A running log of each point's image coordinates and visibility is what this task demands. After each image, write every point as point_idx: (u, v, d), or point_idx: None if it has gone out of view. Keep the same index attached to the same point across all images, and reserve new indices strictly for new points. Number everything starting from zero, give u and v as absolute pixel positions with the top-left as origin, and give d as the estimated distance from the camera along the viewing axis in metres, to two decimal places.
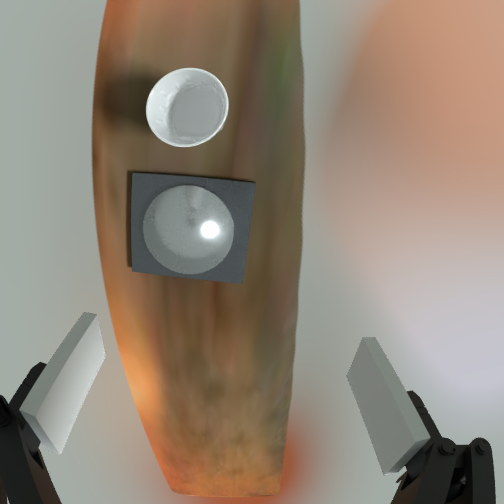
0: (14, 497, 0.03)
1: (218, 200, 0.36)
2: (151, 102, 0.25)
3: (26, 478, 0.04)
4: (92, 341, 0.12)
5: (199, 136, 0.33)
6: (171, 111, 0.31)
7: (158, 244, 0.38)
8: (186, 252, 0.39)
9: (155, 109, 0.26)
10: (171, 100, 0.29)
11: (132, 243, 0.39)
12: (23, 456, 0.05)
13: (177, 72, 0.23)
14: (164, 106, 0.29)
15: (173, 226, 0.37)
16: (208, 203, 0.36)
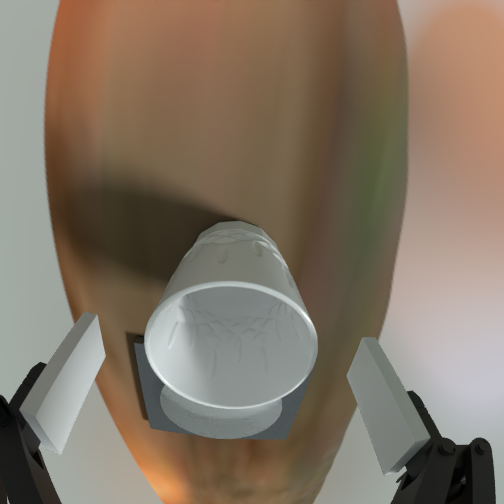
0: (14, 497, 0.03)
1: None
2: (153, 334, 0.13)
3: (26, 478, 0.04)
4: (92, 341, 0.12)
5: (238, 314, 0.21)
6: None
7: (183, 417, 0.26)
8: (220, 424, 0.27)
9: (162, 327, 0.14)
10: None
11: (147, 408, 0.27)
12: (23, 456, 0.05)
13: None
14: None
15: None
16: None
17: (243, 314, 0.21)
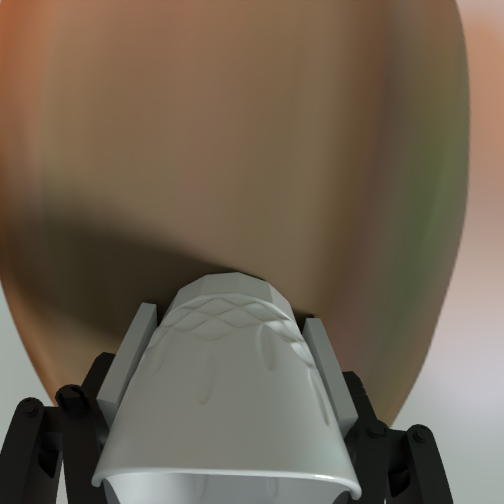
0: (74, 490, 0.05)
1: None
2: (107, 478, 0.06)
3: None
4: (152, 330, 0.14)
5: None
6: None
7: None
8: None
9: None
10: None
11: None
12: (95, 451, 0.06)
13: None
14: None
15: None
16: None
17: None
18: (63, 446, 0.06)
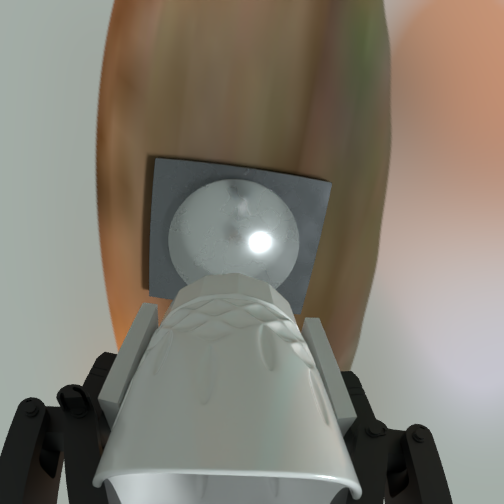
0: (75, 490, 0.05)
1: (281, 203, 0.26)
2: (108, 479, 0.06)
3: (94, 474, 0.06)
4: (153, 330, 0.14)
5: None
6: None
7: (190, 262, 0.27)
8: None
9: None
10: None
11: (151, 258, 0.28)
12: (96, 451, 0.06)
13: None
14: None
15: (214, 237, 0.27)
16: (267, 207, 0.26)
17: None
18: (64, 446, 0.06)
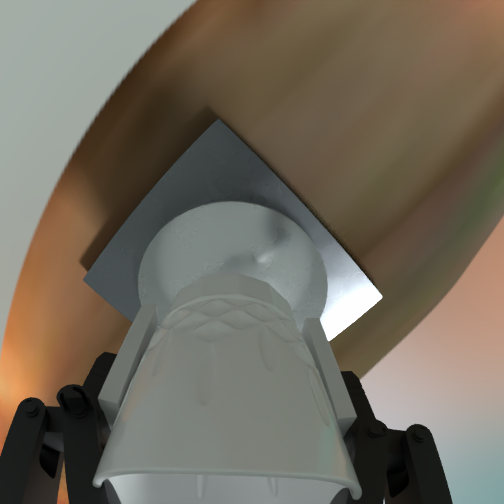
0: (75, 490, 0.05)
1: (323, 289, 0.18)
2: (108, 479, 0.06)
3: (94, 474, 0.06)
4: (153, 330, 0.14)
5: None
6: None
7: (163, 281, 0.18)
8: None
9: None
10: None
11: (114, 240, 0.17)
12: (96, 451, 0.06)
13: None
14: None
15: (216, 274, 0.17)
16: (306, 282, 0.18)
17: None
18: (64, 446, 0.06)
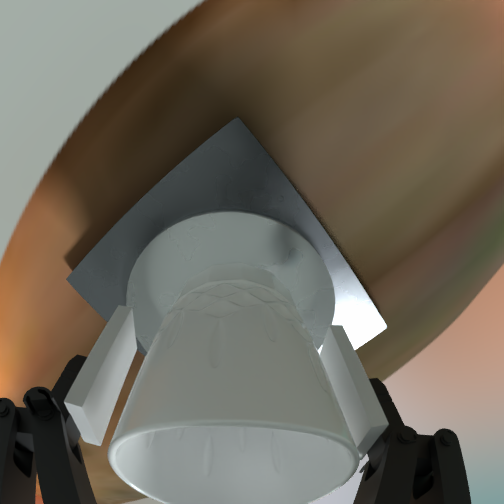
0: (48, 492, 0.04)
1: (329, 316, 0.17)
2: (121, 450, 0.07)
3: (64, 474, 0.05)
4: (128, 333, 0.13)
5: None
6: None
7: (155, 292, 0.15)
8: None
9: None
10: None
11: (104, 240, 0.15)
12: (64, 452, 0.06)
13: None
14: None
15: None
16: (312, 308, 0.16)
17: None
18: (34, 448, 0.05)
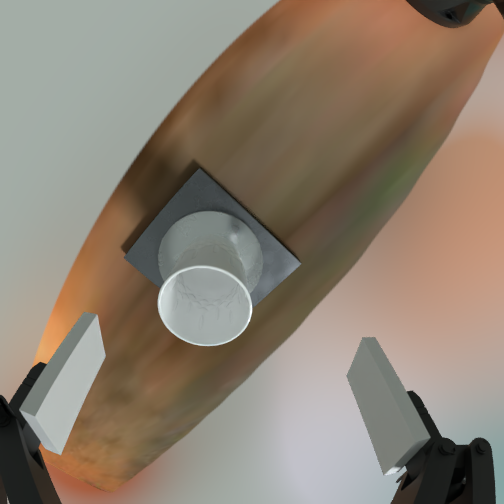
0: (14, 497, 0.03)
1: (260, 257, 0.33)
2: (162, 302, 0.24)
3: (26, 478, 0.04)
4: (92, 341, 0.12)
5: (217, 294, 0.32)
6: (181, 272, 0.31)
7: (172, 255, 0.33)
8: None
9: (167, 300, 0.26)
10: None
11: (144, 233, 0.32)
12: (23, 456, 0.05)
13: (184, 270, 0.23)
14: (174, 281, 0.28)
15: None
16: (250, 253, 0.33)
17: (220, 293, 0.32)
18: None
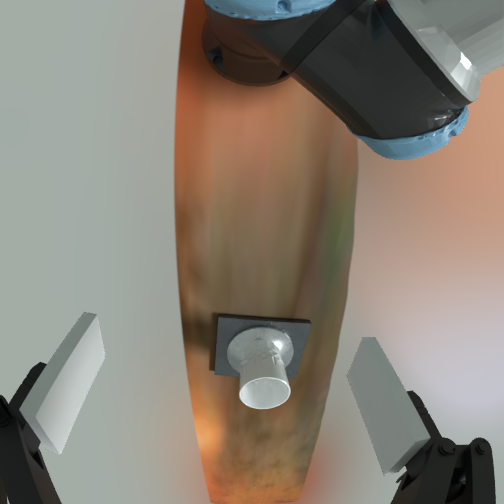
0: (14, 497, 0.03)
1: (284, 336, 0.50)
2: (245, 399, 0.43)
3: (26, 478, 0.04)
4: (92, 341, 0.12)
5: None
6: None
7: (238, 361, 0.52)
8: None
9: (247, 395, 0.45)
10: None
11: (216, 359, 0.52)
12: (23, 456, 0.05)
13: (244, 386, 0.41)
14: None
15: None
16: (277, 338, 0.50)
17: None
18: None
